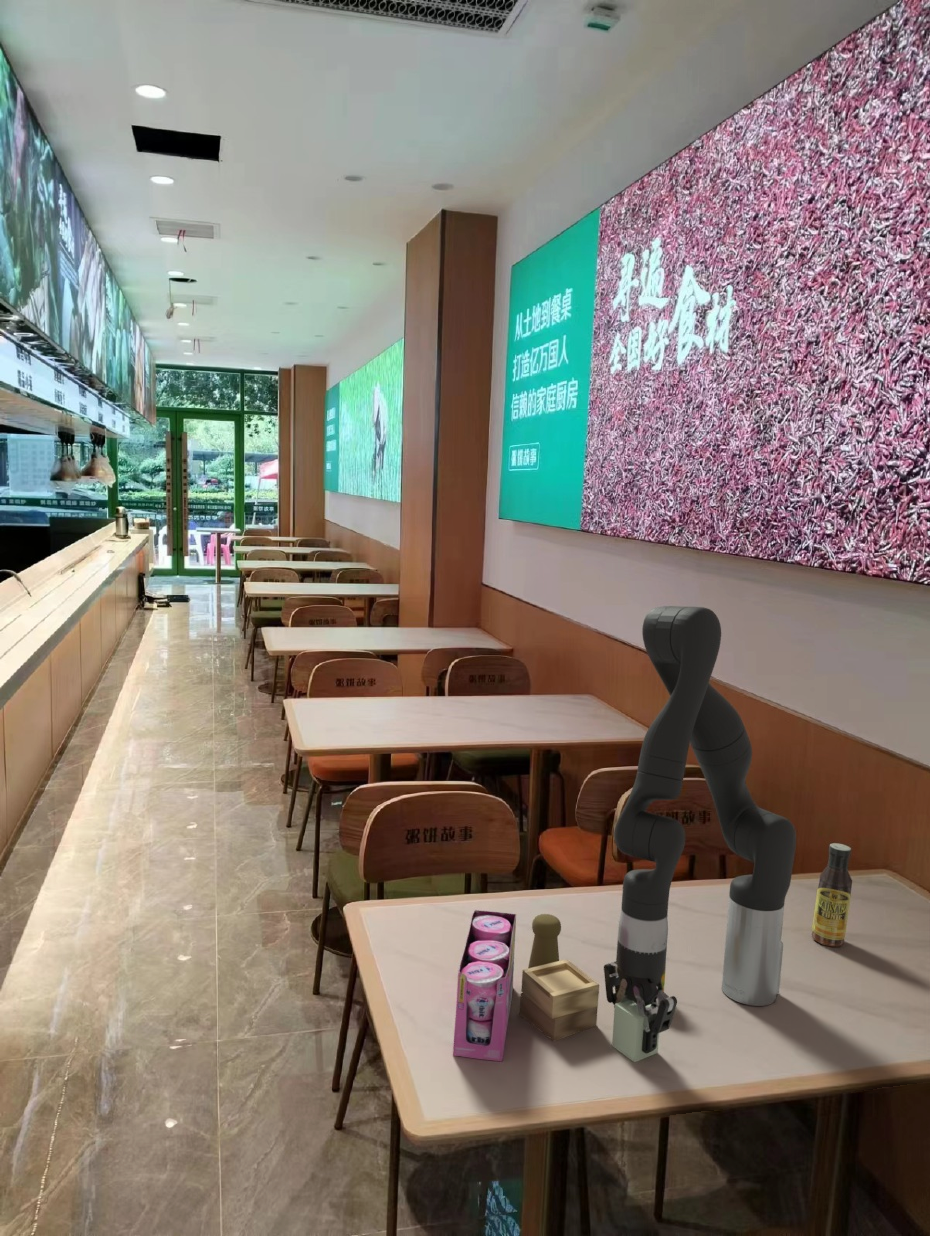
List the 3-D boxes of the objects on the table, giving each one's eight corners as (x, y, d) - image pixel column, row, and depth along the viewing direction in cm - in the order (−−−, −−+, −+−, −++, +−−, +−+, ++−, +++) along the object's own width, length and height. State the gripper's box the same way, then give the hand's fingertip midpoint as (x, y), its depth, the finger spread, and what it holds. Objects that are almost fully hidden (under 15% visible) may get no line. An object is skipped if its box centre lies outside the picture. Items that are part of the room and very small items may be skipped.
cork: (558, 986, 161) (562, 926, 160) (524, 981, 162) (528, 922, 161) (562, 969, 167) (565, 912, 166) (529, 964, 168) (532, 908, 167)
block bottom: (560, 1001, 157) (562, 979, 156) (596, 1027, 149) (597, 1004, 149) (519, 1016, 152) (520, 993, 151) (553, 1043, 144) (555, 1019, 144)
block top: (565, 980, 156) (567, 959, 156) (597, 1006, 148) (599, 984, 148) (521, 991, 152) (522, 969, 151) (551, 1019, 144) (553, 996, 143)
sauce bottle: (810, 944, 181) (819, 848, 179) (811, 931, 187) (820, 838, 185) (846, 951, 179) (855, 854, 177) (845, 938, 185) (855, 843, 182)
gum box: (502, 1068, 137) (507, 983, 135) (450, 1062, 138) (454, 977, 136) (513, 986, 160) (517, 913, 159) (468, 982, 161) (472, 908, 160)
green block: (634, 1036, 146) (637, 995, 146) (657, 1052, 142) (660, 1010, 141) (611, 1045, 144) (614, 1004, 143) (634, 1062, 139) (637, 1019, 139)
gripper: (694, 953, 137) (686, 1058, 139) (627, 915, 149) (620, 1013, 151) (659, 965, 133) (651, 1074, 135) (592, 926, 145) (586, 1026, 147)
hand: (635, 1041), depth 143 cm, fingers closed on green block, 5 cm apart
